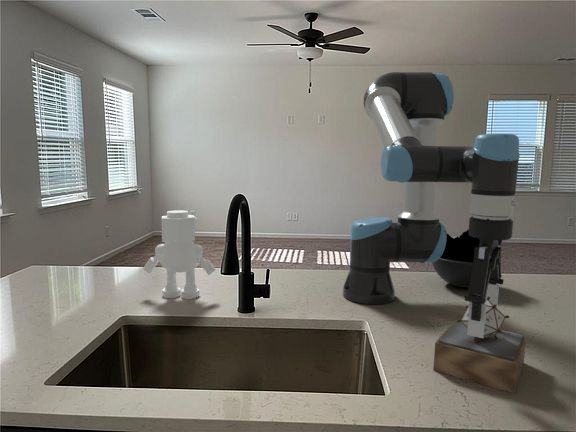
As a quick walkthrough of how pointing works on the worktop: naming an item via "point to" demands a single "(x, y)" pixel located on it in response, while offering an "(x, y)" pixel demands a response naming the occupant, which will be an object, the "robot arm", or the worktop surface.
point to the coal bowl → (457, 260)
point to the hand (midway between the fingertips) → (482, 324)
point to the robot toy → (179, 254)
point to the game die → (488, 320)
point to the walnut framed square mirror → (481, 357)
